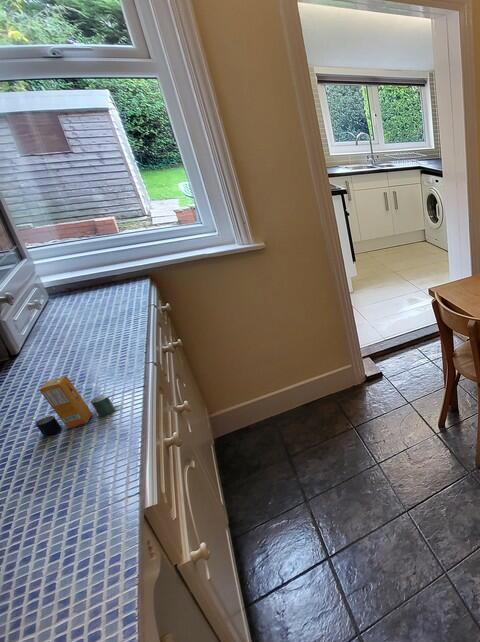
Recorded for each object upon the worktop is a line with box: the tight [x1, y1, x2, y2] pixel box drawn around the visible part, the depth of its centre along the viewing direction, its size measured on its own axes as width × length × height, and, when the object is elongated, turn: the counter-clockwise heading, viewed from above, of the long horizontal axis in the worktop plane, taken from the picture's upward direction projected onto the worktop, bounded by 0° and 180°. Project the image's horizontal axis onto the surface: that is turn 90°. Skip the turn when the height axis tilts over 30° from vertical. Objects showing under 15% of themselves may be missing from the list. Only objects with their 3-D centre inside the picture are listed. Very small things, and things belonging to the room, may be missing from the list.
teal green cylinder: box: [90, 394, 116, 417], centre depth 85 cm, size 3×3×4 cm
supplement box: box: [39, 375, 93, 429], centre depth 81 cm, size 3×3×10 cm
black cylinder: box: [35, 415, 63, 438], centre depth 81 cm, size 3×3×3 cm
